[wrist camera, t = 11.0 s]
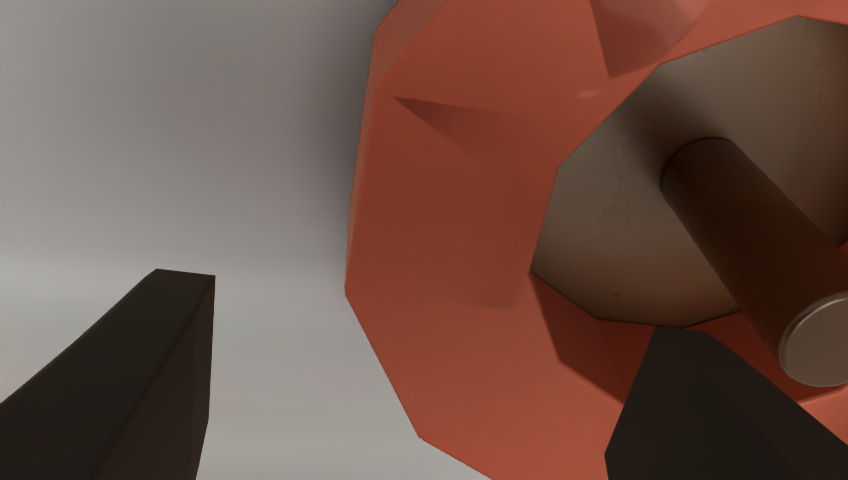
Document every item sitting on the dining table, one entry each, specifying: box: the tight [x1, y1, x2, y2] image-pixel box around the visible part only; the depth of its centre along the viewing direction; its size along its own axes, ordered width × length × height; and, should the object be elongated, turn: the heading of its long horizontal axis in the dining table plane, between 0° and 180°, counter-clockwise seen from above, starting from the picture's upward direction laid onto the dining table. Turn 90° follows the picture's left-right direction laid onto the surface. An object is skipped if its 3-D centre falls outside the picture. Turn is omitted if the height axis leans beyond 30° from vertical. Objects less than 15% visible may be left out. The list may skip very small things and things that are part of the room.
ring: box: [345, 0, 848, 480], centre depth 13 cm, size 13×13×3 cm
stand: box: [530, 16, 848, 387], centre depth 13 cm, size 8×8×6 cm
